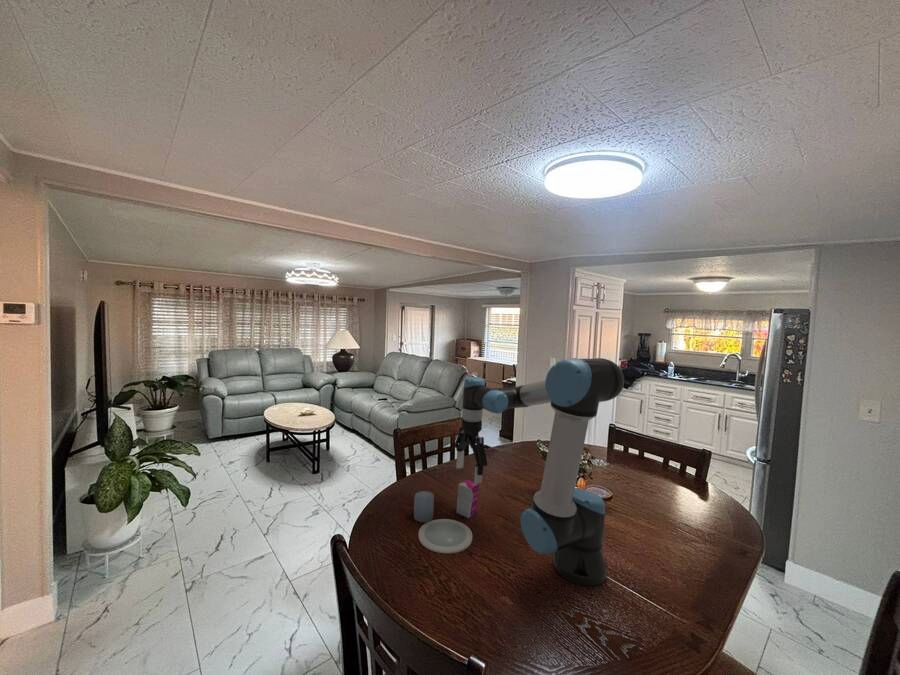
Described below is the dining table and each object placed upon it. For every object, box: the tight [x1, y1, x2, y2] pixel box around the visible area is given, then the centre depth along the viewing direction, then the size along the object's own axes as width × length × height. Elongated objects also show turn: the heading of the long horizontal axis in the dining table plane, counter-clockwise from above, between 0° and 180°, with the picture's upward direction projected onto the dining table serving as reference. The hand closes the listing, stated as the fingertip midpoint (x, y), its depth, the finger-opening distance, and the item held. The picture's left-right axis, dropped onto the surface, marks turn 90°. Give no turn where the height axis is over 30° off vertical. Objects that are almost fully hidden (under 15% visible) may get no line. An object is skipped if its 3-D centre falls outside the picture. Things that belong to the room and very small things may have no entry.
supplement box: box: [455, 479, 480, 520], centre depth 140 cm, size 6×6×12 cm
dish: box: [417, 518, 473, 555], centre depth 125 cm, size 18×18×1 cm
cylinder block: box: [413, 490, 435, 523], centre depth 136 cm, size 7×7×8 cm
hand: (468, 475), depth 140 cm, fingers open, 13 cm apart
